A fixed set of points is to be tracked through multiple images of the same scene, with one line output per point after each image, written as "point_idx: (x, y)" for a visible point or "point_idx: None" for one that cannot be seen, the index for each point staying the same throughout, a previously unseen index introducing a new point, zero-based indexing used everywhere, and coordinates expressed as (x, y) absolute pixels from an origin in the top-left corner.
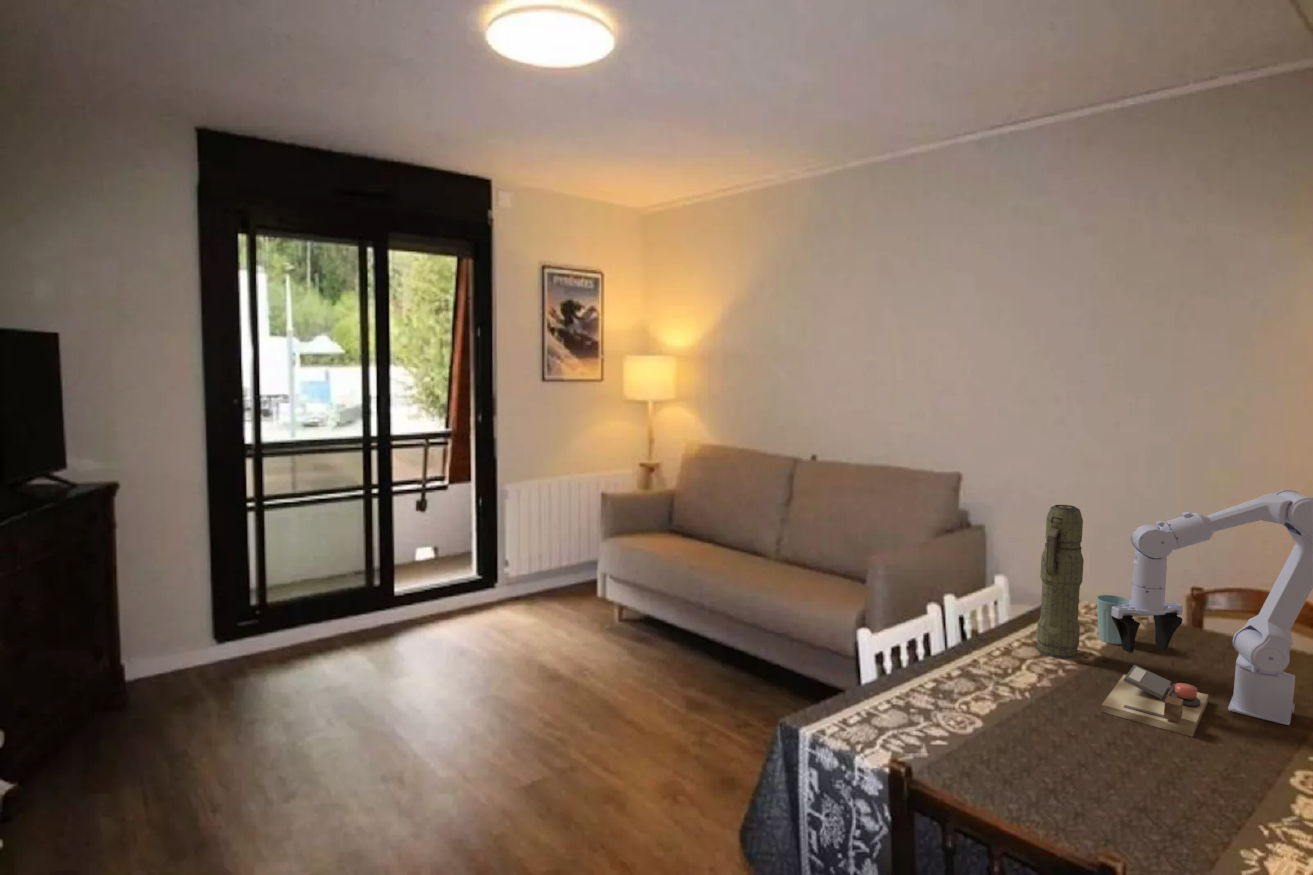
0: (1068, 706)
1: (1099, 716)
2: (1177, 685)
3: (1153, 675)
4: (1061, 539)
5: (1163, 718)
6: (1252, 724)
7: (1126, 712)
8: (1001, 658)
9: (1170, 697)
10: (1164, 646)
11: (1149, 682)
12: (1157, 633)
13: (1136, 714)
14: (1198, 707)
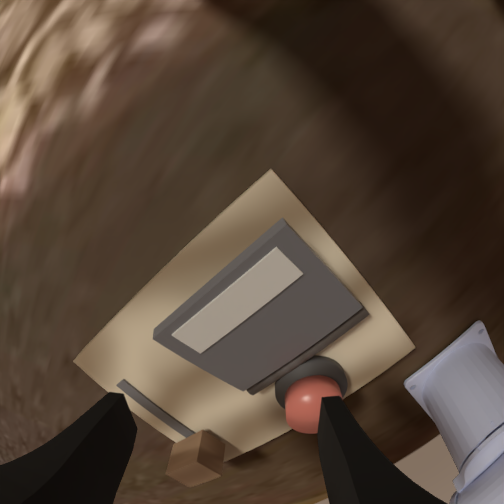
0: (27, 311)
1: (71, 364)
2: (297, 407)
3: (316, 290)
4: None
5: (181, 435)
6: (387, 424)
7: None
8: (13, 9)
9: (195, 467)
10: (319, 453)
11: (249, 342)
12: (340, 460)
13: (132, 409)
14: None
